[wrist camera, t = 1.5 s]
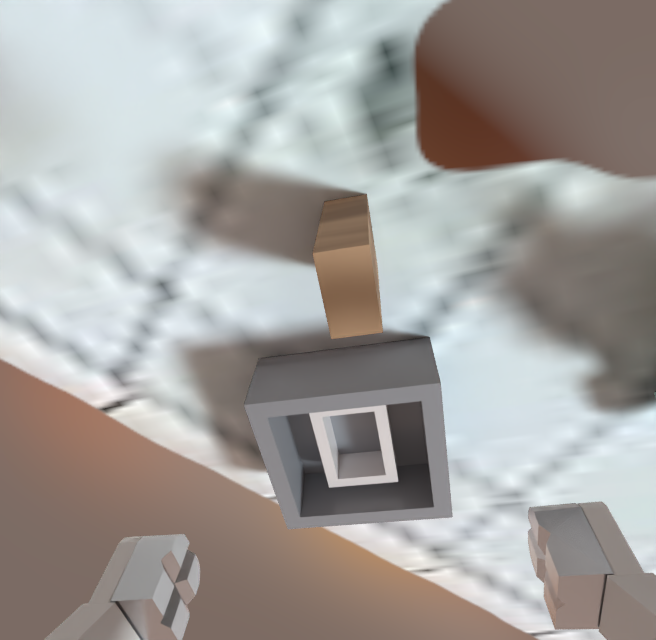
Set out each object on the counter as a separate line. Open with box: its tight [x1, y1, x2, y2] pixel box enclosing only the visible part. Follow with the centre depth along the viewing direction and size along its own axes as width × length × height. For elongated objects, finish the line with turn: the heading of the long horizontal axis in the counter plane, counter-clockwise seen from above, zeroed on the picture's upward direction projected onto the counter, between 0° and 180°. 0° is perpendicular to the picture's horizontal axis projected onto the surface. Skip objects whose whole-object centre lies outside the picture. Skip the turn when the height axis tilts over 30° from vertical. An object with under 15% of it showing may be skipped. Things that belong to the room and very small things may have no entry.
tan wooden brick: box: [313, 194, 383, 339], centre depth 25 cm, size 4×2×8 cm, turn 11°
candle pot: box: [244, 337, 452, 529], centre depth 33 cm, size 12×12×5 cm
